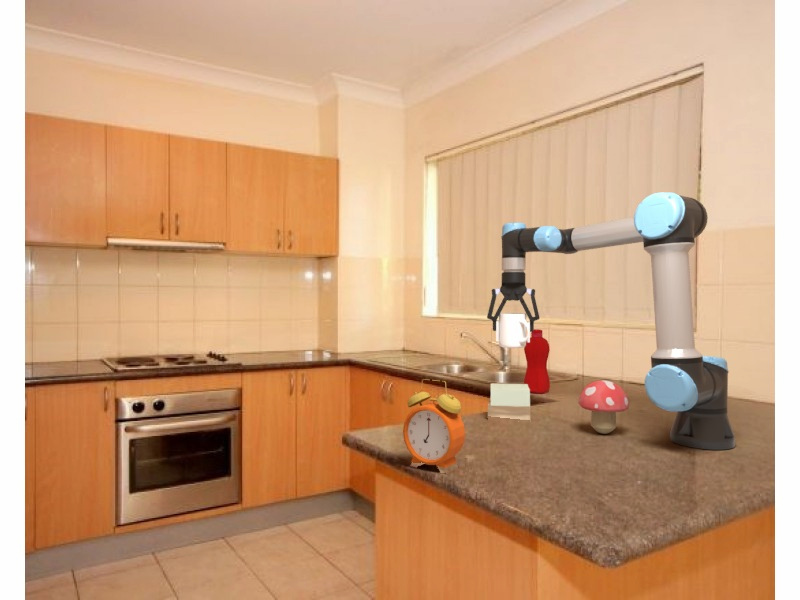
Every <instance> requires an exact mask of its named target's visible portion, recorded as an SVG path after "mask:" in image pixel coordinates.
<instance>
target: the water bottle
mask: <svg viewBox="0 0 800 600" xmlns="http://www.w3.org/2000/svg"><path fill="white" fill-rule="evenodd" d="M523 351H524V355H525V360H526V370H525V375H524V379H523V384H528V387H529V389H530V394H542V395H543V394H546V393H548V392H549V390H550V387H551V386H550V385H551V384H550V375H549V372H548V368H547V366H548V365H547V364H548V359H549V355H550V352H551V351H550V344H549V341H548V340H547V339H546V338H545V337H543V330H542V329H539V328H537V329H535V328H534V331H533V332H530V342H527V341H526V346H525V347H523Z"/></svg>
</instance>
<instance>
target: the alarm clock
mask: <svg viewBox="0 0 800 600" xmlns="http://www.w3.org/2000/svg"><path fill="white" fill-rule="evenodd" d="M424 380H427V381H429V379H427V378H426V379H424V378H423V379H421V385H423V382H424ZM433 381H437V382H439V379H437V380H435V379H433ZM443 382H444V384H445V385H444V386H445V388H447V382H446V381H445V380H443ZM413 393H414V394H413V395H412V396H410V397H409V398H408V400H407V406H408V407H407V408H411V407H414V406H417V405H420V406H417V407H415V408H413V409H412V410H411V411H410V412H409V413H408V414H407V416H406V419H405V421H404V423H403V429H402V434H403V441H404V444H405V447H406V449H407V450H408V452H409V453H410V454H411V457H412V458H411V461H410V463H411V462H413V463H421V462H422V463H425V465H426V466H427V465H429V466H432V465H433V466H436V467H437V466H439V467H444V468H446V467H448V466H450V465H452V464H454V463H456V462H457V460H456V459H457V458H456V456H457V454H458V453H459V452H461V450H462V448H463V446H464V444H465V439H466V429H465V428H466V427H465V424H464V422H463V419H462V417H461V415H460V414H459V413H460V412H461V409H462V404H461V402H460V400H459V399H457V398H456V397H455V395H452V394H448V392H447V390H445V393H444V394H443V393H442V394H441V395H439V396H438V397H437V398H435V397H432V396H431V395H430V393H429V392H428V391H423V386H421V390H420V391H418V392H417V391H414V392H413ZM427 400H429V401H431V402H429V403H426V404H423V402H424V401H427ZM457 463H458V462H457Z"/></svg>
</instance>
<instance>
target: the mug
mask: <svg viewBox="0 0 800 600" xmlns="http://www.w3.org/2000/svg"><path fill="white" fill-rule="evenodd" d="M498 321H499V342H498V345H499V346H500V347H501V348H509V349H521V348H523V349H524V347H525V346H526V341H527V340H528V337H529V326H528V321H527V314H526V313H521V312H519V313H518V312H504V313H502V312H501V313H500V314H499V316H498ZM527 331H528V334H527Z"/></svg>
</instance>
